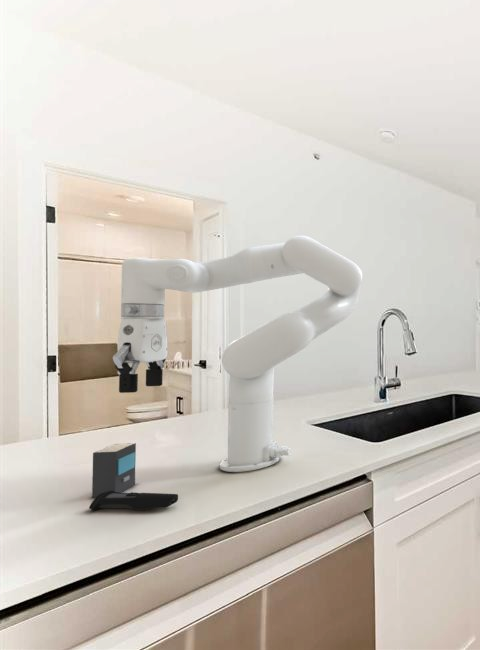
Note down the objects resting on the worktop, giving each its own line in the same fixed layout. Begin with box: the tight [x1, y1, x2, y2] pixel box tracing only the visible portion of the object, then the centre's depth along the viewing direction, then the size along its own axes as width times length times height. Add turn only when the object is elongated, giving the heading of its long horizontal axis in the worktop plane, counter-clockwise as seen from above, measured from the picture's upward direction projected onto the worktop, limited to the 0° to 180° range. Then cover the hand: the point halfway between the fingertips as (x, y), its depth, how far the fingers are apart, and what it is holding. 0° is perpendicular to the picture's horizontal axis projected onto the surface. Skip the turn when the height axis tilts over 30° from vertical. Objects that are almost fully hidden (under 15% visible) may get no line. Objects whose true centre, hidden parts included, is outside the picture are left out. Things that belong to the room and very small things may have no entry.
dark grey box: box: [91, 442, 137, 499], centre depth 89 cm, size 4×6×9 cm
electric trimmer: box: [88, 491, 179, 512], centre depth 81 cm, size 4×16×3 cm, turn 88°
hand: (141, 388), depth 97 cm, fingers open, 8 cm apart
